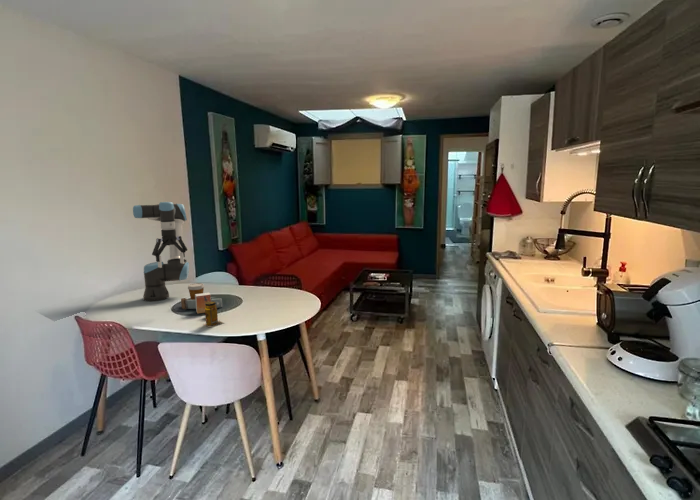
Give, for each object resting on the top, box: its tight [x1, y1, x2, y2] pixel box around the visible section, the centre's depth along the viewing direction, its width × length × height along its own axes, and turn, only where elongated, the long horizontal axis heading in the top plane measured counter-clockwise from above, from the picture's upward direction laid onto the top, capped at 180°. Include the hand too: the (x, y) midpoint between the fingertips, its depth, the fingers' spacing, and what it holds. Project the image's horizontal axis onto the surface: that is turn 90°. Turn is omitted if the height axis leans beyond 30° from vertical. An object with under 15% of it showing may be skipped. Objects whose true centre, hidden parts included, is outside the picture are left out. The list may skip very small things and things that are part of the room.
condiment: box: [202, 301, 224, 328], centre depth 202 cm, size 7×8×12 cm
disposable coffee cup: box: [187, 282, 205, 300], centre depth 237 cm, size 10×10×12 cm
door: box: [185, 297, 223, 310], centre depth 227 cm, size 21×2×6 cm, turn 99°
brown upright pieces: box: [180, 297, 188, 310], centre depth 220 cm, size 29×2×6 cm, turn 55°
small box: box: [195, 292, 212, 314], centre depth 222 cm, size 8×6×10 cm
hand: (171, 265), depth 222 cm, fingers open, 13 cm apart
